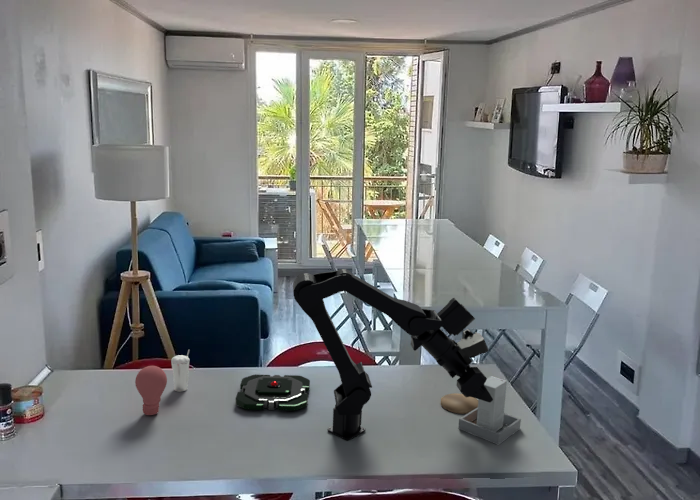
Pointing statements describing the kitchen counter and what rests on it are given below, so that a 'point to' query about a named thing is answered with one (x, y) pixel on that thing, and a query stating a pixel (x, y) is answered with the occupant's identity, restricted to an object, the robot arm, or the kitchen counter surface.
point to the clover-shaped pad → (273, 392)
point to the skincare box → (492, 405)
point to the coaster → (459, 403)
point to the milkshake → (180, 372)
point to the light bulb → (151, 387)
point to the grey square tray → (486, 433)
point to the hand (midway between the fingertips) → (485, 392)
